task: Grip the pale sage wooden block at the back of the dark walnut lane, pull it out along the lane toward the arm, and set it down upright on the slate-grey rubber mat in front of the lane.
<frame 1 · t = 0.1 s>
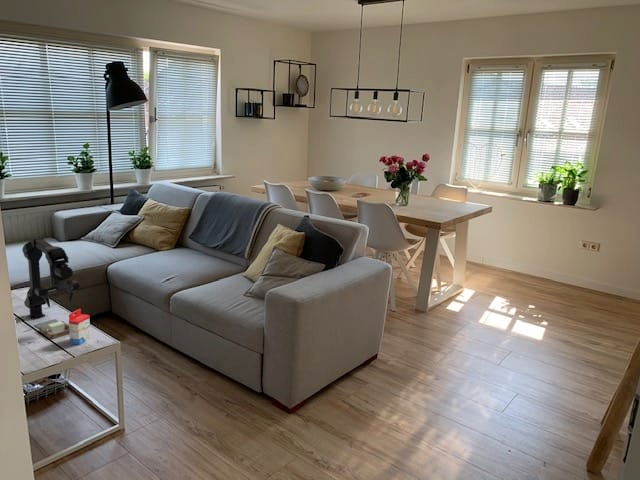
hand: (59, 304, 237), 14 cm above the table, tool pointing down, fingers open, 9 cm apart
sage block: (56, 331, 241), on the table
lane: (57, 331, 241), on the table
ink box: (80, 341, 233), on the table
mat: (48, 324, 248), on the table
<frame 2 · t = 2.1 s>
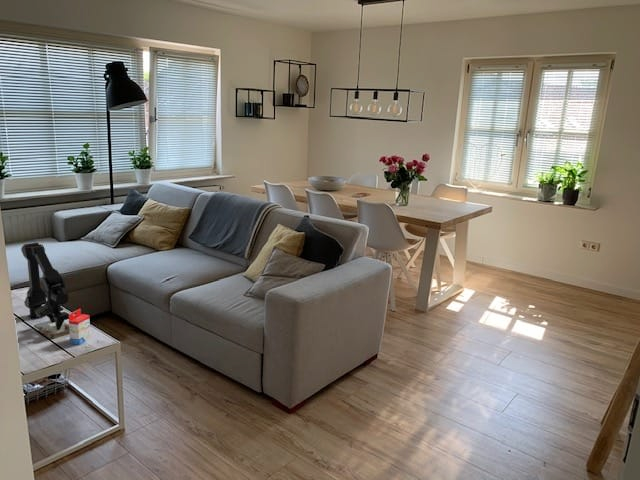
hand: (56, 328, 241), 1 cm above the table, tool pointing down, fingers closed on sage block, 4 cm apart
sage block: (56, 331, 241), on the table, touching gripper
everything else where it was.
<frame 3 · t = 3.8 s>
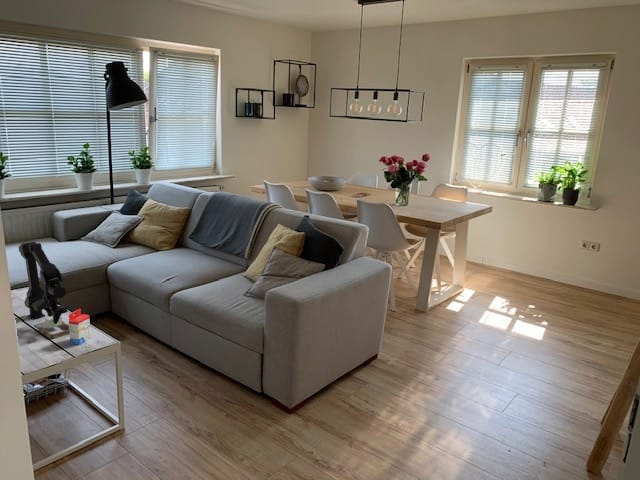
hand: (53, 322, 242), 4 cm above the table, tool pointing down, fingers closed on sage block, 4 cm apart
sage block: (53, 324, 242), point 2 cm above the table, touching gripper
everything else where it was.
when the fingers open (2 cm above the table, at t = 5.7 s): sage block stays where it is, resting on mat.
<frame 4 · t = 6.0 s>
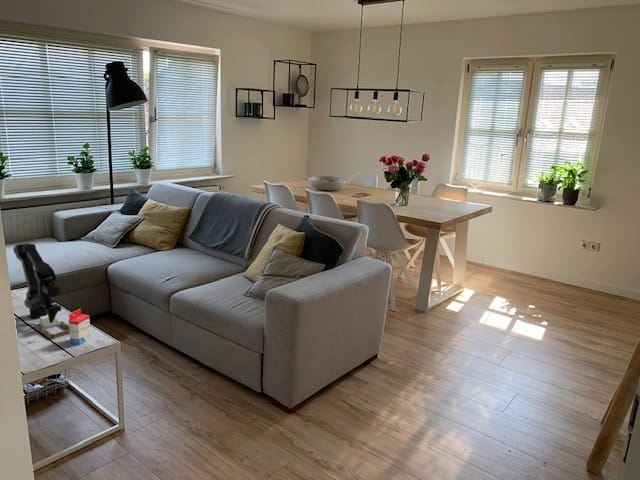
hand: (48, 320, 247), 2 cm above the table, tool pointing down, fingers open, 7 cm apart
sage block: (48, 324, 247), resting on mat
everything else where it was.
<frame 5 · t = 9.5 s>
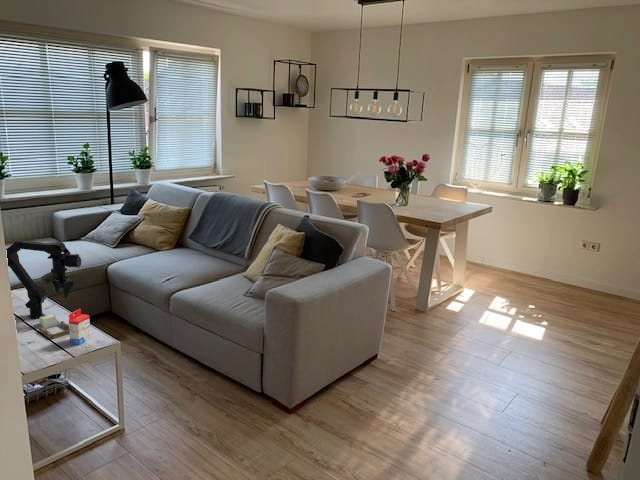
hand: (61, 295, 255), 12 cm above the table, tool pointing down, fingers open, 9 cm apart
nothing on the table moved.
at the end: sage block 0.0 cm from the mat (horizontally); sage block tilted 0°; the gripper is holding nothing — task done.
